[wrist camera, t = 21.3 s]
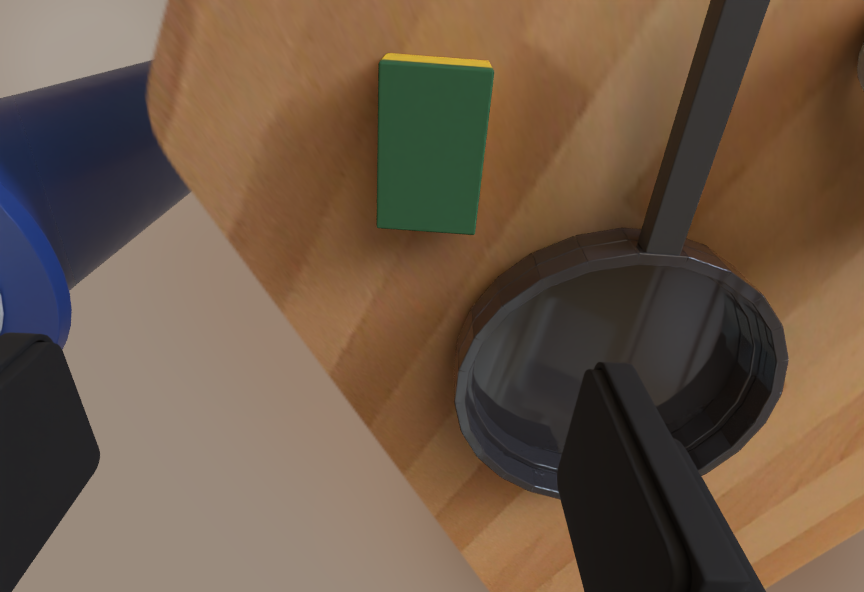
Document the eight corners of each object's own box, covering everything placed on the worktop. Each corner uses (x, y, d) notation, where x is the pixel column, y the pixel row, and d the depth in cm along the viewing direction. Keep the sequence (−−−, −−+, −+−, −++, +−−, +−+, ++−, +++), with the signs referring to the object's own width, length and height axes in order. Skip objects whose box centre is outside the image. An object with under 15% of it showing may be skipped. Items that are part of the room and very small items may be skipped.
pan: (443, 449, 35) (443, 492, 32) (470, 211, 26) (473, 241, 23) (694, 466, 35) (717, 510, 32) (805, 236, 26) (852, 268, 23)
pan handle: (636, 245, 24) (644, 256, 23) (718, -29, 19) (733, -29, 18) (669, 247, 24) (679, 259, 23) (761, -25, 19) (780, -26, 18)
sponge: (383, 204, 26) (376, 228, 23) (386, 52, 22) (378, 61, 20) (472, 211, 26) (474, 235, 24) (489, 60, 22) (494, 70, 20)
